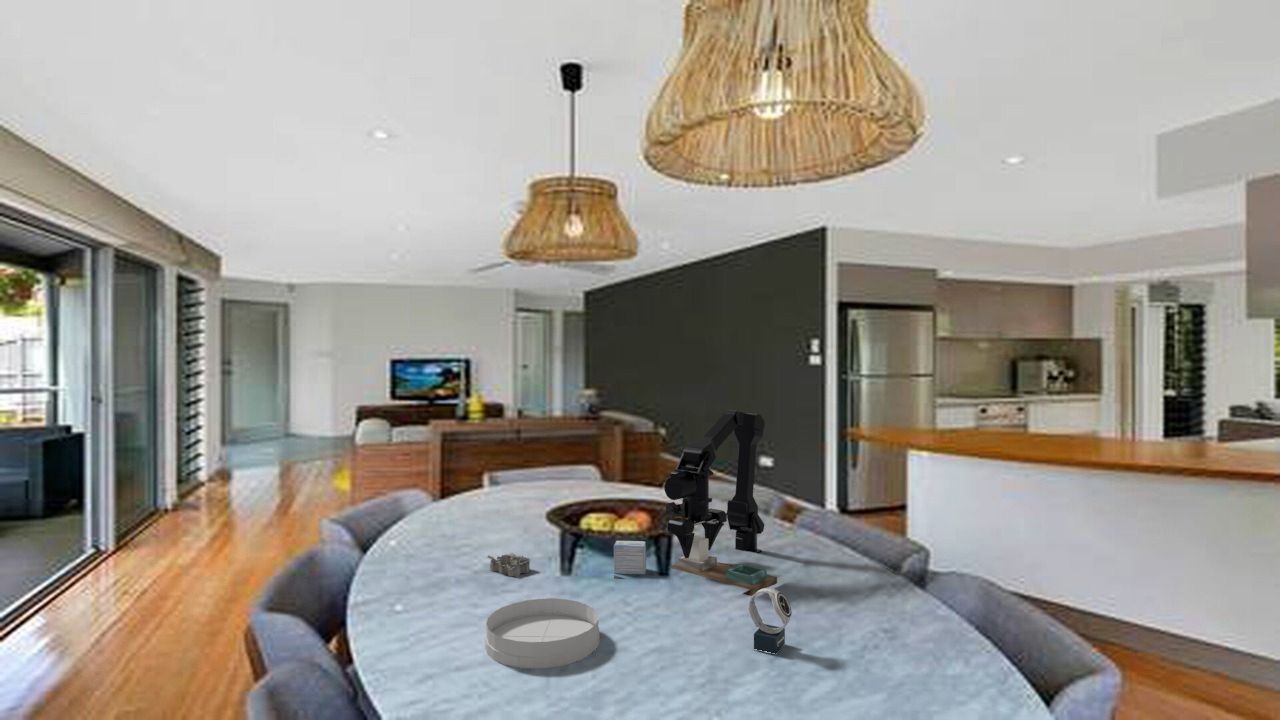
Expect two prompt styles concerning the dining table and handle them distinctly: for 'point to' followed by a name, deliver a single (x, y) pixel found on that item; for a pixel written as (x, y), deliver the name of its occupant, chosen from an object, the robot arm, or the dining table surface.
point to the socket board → (728, 573)
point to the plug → (699, 549)
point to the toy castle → (516, 564)
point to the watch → (770, 635)
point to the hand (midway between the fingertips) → (697, 553)
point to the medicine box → (629, 557)
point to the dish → (542, 633)
